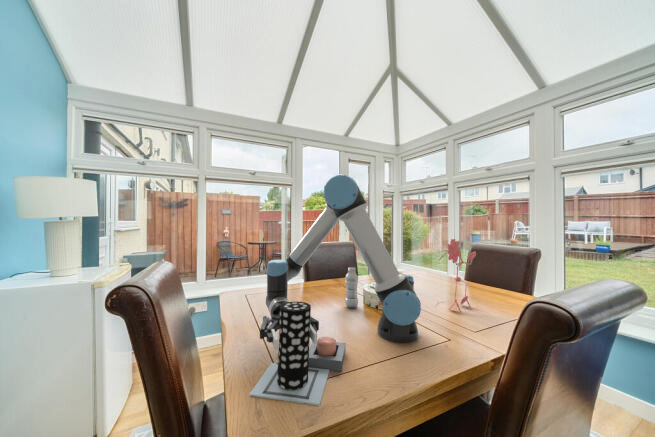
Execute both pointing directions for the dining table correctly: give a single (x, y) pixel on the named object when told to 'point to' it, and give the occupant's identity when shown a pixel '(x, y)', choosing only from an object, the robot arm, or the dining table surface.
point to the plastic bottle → (351, 288)
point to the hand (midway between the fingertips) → (296, 342)
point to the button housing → (327, 358)
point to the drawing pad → (306, 394)
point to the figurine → (453, 255)
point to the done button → (326, 346)
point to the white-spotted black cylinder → (293, 345)
